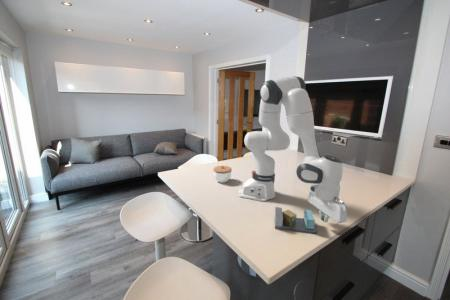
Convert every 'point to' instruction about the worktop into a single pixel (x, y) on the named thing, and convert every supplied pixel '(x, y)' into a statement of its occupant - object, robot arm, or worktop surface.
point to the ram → (309, 219)
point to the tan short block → (289, 217)
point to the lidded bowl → (222, 173)
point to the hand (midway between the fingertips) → (323, 220)
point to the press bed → (297, 226)
